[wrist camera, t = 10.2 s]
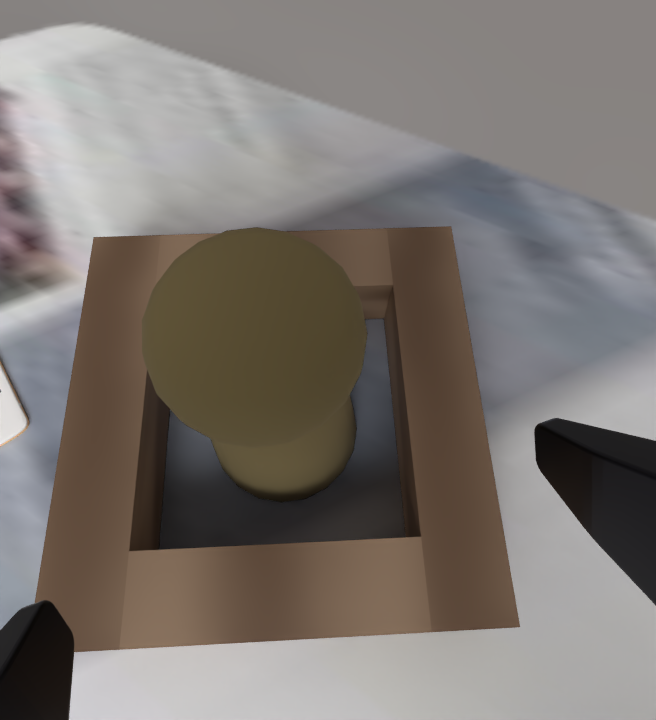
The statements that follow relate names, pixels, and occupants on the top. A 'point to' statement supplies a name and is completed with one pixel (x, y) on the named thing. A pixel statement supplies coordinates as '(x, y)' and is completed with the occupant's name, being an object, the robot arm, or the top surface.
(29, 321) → the top surface
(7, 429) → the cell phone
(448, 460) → the walnut socket
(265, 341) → the cork
